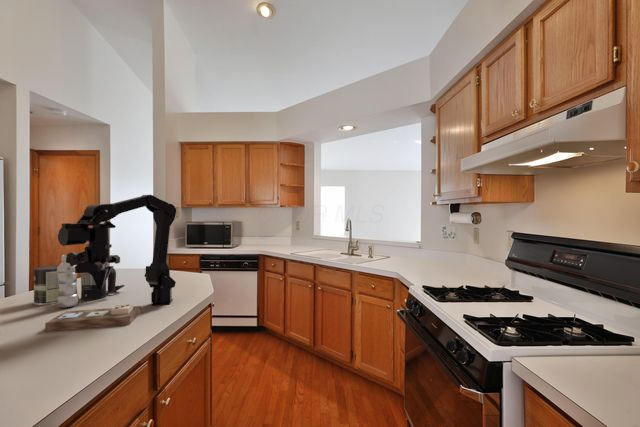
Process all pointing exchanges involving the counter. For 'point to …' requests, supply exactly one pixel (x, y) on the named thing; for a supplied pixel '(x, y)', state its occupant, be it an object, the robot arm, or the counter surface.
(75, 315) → the tile
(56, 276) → the coffee can
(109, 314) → the board
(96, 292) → the milk frother
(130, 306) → the tile
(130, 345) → the counter surface
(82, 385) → the counter surface
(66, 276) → the plastic bottle
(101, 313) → the tile
